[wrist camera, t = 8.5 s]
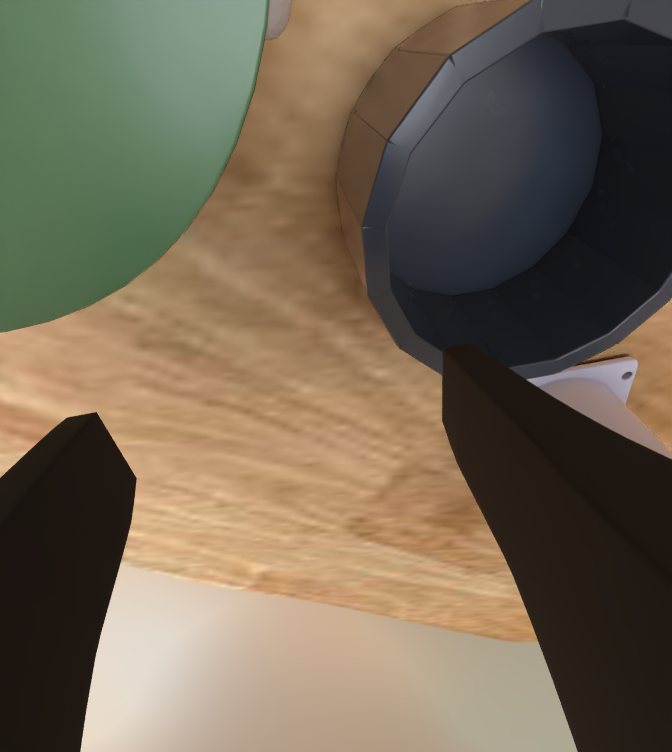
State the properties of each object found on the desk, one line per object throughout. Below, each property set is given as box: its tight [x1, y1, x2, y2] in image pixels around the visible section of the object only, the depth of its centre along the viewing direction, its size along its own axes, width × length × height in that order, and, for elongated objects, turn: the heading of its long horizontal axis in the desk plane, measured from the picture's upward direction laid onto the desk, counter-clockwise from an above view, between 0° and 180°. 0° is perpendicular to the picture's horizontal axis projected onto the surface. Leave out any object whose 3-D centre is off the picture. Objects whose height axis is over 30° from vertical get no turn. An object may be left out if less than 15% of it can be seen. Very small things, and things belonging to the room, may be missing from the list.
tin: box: [336, 0, 672, 380], centre depth 15 cm, size 11×11×6 cm
